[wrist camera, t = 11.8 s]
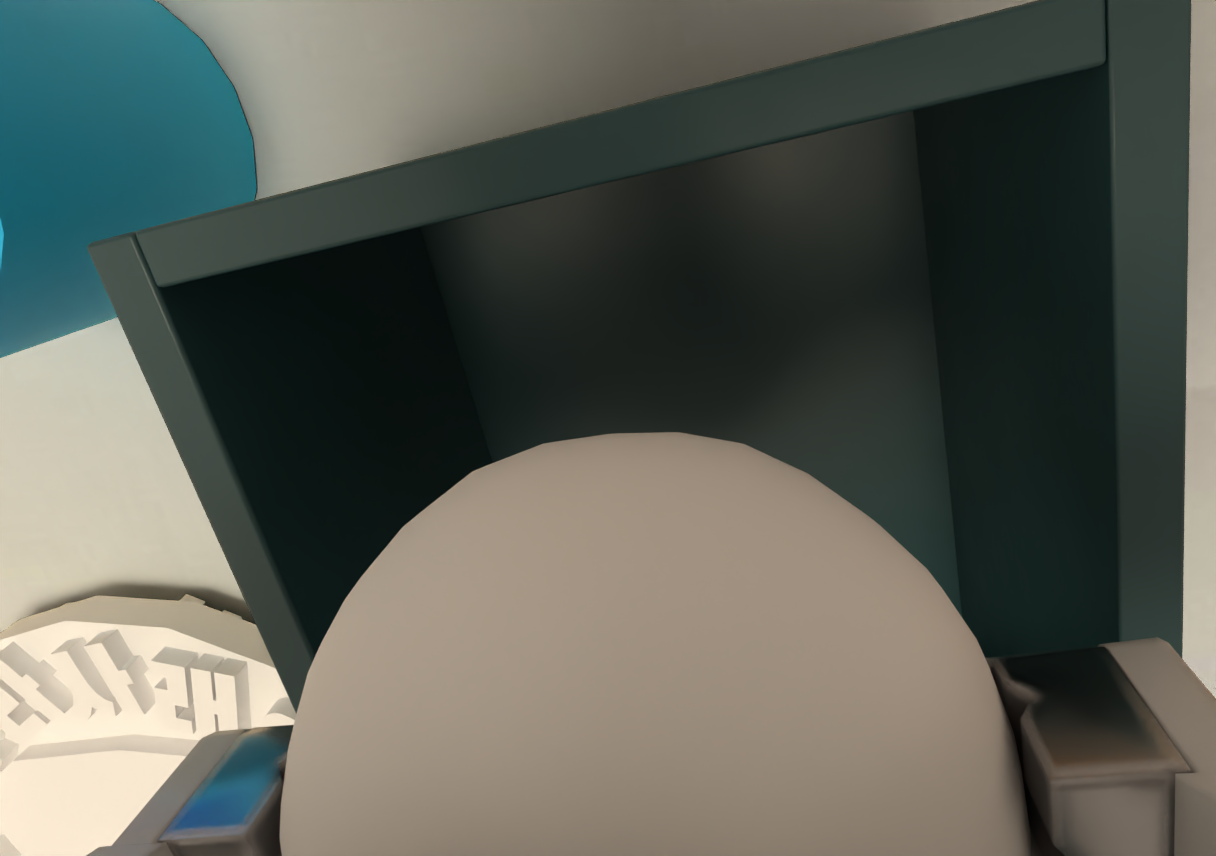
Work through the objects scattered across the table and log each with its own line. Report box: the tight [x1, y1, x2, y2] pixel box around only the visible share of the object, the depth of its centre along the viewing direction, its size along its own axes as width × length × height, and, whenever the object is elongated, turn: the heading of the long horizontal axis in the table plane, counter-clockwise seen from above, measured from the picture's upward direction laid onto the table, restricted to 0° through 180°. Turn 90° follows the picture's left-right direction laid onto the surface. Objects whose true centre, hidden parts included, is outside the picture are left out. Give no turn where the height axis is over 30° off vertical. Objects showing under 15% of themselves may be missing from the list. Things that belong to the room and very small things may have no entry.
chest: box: [87, 0, 1191, 714], centre depth 17 cm, size 17×14×11 cm
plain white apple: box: [280, 432, 1031, 856], centre depth 8 cm, size 7×7×8 cm
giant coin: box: [0, 594, 296, 856], centre depth 29 cm, size 20×20×3 cm
